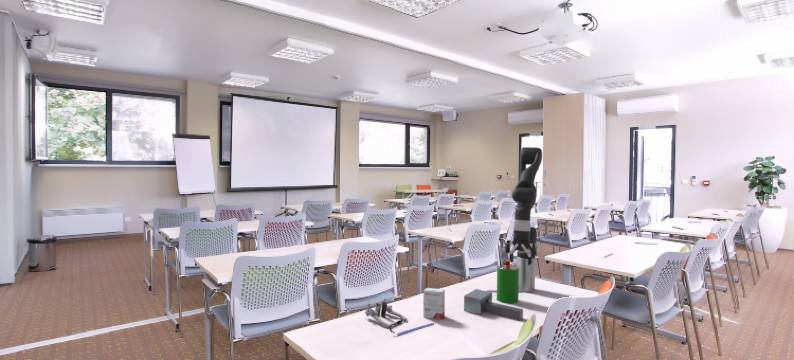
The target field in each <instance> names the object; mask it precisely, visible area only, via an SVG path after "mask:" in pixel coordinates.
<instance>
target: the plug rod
mask: <svg viewBox="0 0 794 360" xmlns="http://www.w3.org/2000/svg"><path fill="white" fill-rule="evenodd" d="M484 313H485V314H491V315H494V316H498V317H502V318H506V319H510V320H511V319H512V320H515V321H518V322H520V321H522V320H523V319H524V309H523V308H520V307H516V306H512V305H511V306H510V305H507V304H501V303H496V302H493V301H492V302H489V301H484Z"/></svg>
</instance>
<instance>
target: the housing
mask: <svg viewBox="0 0 794 360" xmlns="http://www.w3.org/2000/svg"><path fill="white" fill-rule="evenodd" d="M463 300H464V301H463V312H467V313H471V314H474V315H479V316H482V315H483V314H484V313H485V312H484V301H489V302H493V292H492V291H486V290H482V289H478V288H476V289H474V290H472V291H470V292H468V293H466V294H464V295H463Z"/></svg>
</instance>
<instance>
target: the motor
mask: <svg viewBox="0 0 794 360" xmlns="http://www.w3.org/2000/svg"><path fill="white" fill-rule="evenodd" d="M519 292H520V291H519V268H517V267H516V269H513V268H512V269H511V262H510V260H509V259H506V260H505V268H500V266H499V265H498V266H497V267H496V301H498V302H500V303H505V304H516V303H518V302H519Z"/></svg>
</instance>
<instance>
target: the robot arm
mask: <svg viewBox="0 0 794 360" xmlns="http://www.w3.org/2000/svg"><path fill="white" fill-rule="evenodd" d="M542 160H543V151H542V148H540V147H532V146H531V147H530V146H528V147H522V148H521V149H520V153H519V180H518V183H517V184H516V185H515V187H514V188H513V190H512V193H511V198H512V200H513V201H514V202H515V203H517V207H516V208H515V212H514V223H513V237H512V238H513V239H512V240H510V239H508V240H506V244H505V253H508V255H509V257H508V260H510V263H513V262H514V257H515V256H514V253H515V252H516V251H517V253H516V269H517V268H519V292H523V293H531V292H535V291H536V290H535V287H536V256H537V255H538V254H537V247H538V246H537V238H538V234H537V233H538V231H537V229H536V227H533V226H531V215H532V214H531V213H532V212H531V211H532V208H534V206H535V205H536V202H537V187H536V185H535V179H536V176H537V174H538V171H539V168H540V166H541V164H542ZM527 165H528V167H527ZM512 245H513V247H512V248H511V246H512Z"/></svg>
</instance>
